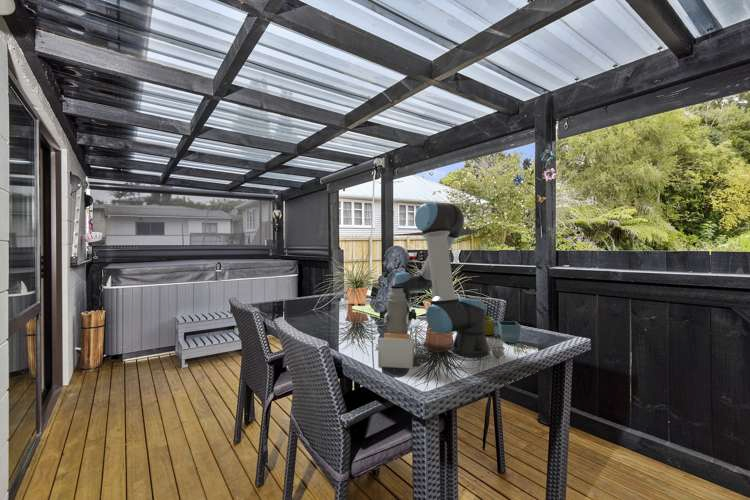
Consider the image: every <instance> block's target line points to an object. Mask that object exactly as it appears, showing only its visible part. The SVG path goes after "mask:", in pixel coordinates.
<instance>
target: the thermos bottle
mask: <svg viewBox="0 0 750 500" xmlns="http://www.w3.org/2000/svg"><path fill="white" fill-rule="evenodd" d="M386 300H387V304H386V305H387V307H386V308H387V322H386V323H387V326H386V328H387V333H395V334H408V328H407V327H408V324H406V315H407V299H405V293H403V286H401V285H395V284H393V285H391V286H390V293H389V294H388V298H387V299H386Z"/></svg>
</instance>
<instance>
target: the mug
mask: <svg viewBox="0 0 750 500" xmlns="http://www.w3.org/2000/svg"><path fill="white" fill-rule="evenodd" d="M494 334H495V321H494V318H493V317H491V316H485V335H486V336H487V335H491V336H493V335H494Z"/></svg>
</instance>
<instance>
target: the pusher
mask: <svg viewBox="0 0 750 500" xmlns="http://www.w3.org/2000/svg"><path fill="white" fill-rule="evenodd" d="M383 338H398V339H410V333H407V334H395V333H388V332H385V333H383Z"/></svg>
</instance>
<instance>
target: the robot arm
mask: <svg viewBox="0 0 750 500" xmlns="http://www.w3.org/2000/svg"><path fill="white" fill-rule="evenodd" d="M464 224H465V216H464V213H463V211H462V209H461V207H459V206H457V205H455V204H452V203H441V202H440V203H439V202H433V201H432V202H425V203H422V204H421V205H420V206H419V207H418V208H417V211H416V212H415V215H414V225H415V227H416V228H417V229H418V230H419V231H420V232H421V235H422V237H423V238H424V239H425V240H426V247H427V257H426V259H425V261H424V263H423V266H422V267H421V269H420V271H419V273H418V275H411V273H410V272H397V273H395V275H394V285H401V286H403V293H405V299H407V315H406V324H407V325H408V324H409V321H412V319H413V320H414V321H415V320H417V312H416V309H415V308H413V309H411V306H412V302H411V293H412V292H420V291H421V292H422V291H428V290H432V298H431V299H430V301H429V303H430V305H429V306H428V307H427V309H426V311H425V319H426V322H427V324H428V326H429V328H430V329H431V330H432V331H433V332H435V333H436V334H449V333H454V332H456V334H455V337H454V341H453V344H452V352H453V354H455V355H457V356H460V357H463V358H464V357H465V358H483V357H484V358H485V357H486V356H489V355H490V347H489V345H488V342H487V339H486V336H485V317H486V308H485V307H486V306H485V302H484V300H481V299H477V298H469V297H458V296H457V295H456V294H455V290H454V281H453V273H452V266H451V258H450V249H451V247H452V246H453V243H454V242H455V241H456V239H458V238H459V237H460V236H461V233H462V231H463V229H464ZM379 319H382V320H383V324H386V323H387V307H384V308H383V309H382V310H381V311H379Z"/></svg>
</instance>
